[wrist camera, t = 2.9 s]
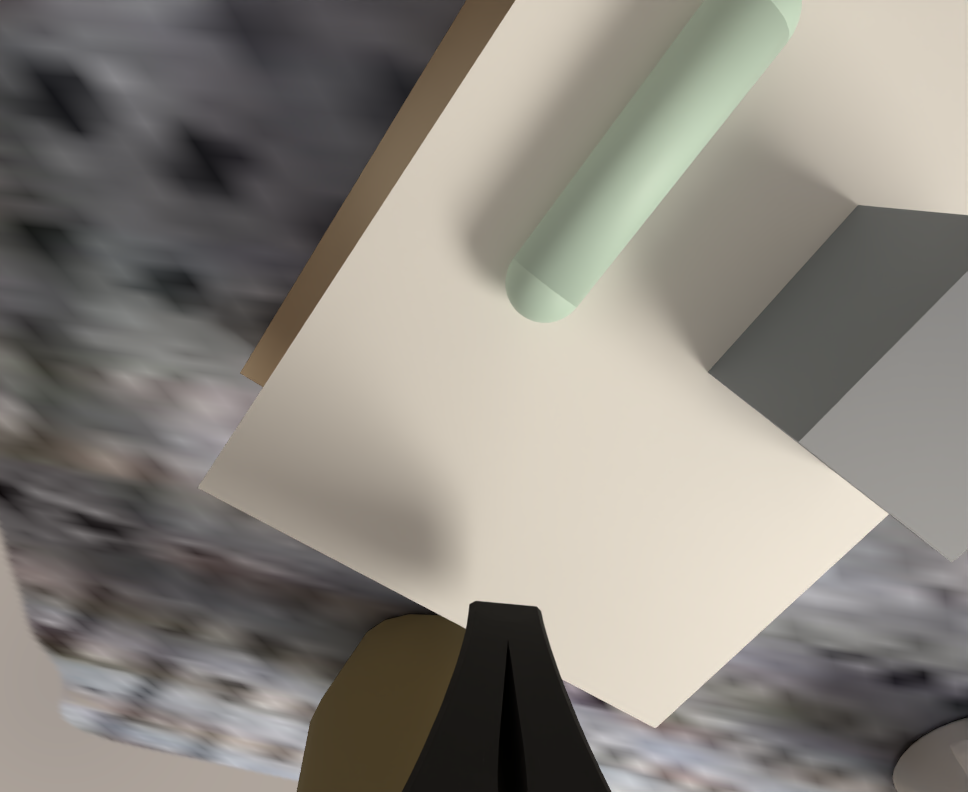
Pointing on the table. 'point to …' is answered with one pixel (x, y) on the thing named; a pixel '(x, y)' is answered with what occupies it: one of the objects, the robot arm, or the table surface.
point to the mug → (935, 761)
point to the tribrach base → (379, 176)
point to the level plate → (645, 332)
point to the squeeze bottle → (381, 707)
